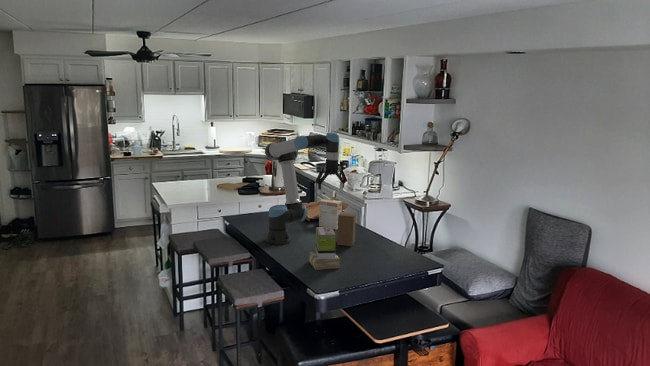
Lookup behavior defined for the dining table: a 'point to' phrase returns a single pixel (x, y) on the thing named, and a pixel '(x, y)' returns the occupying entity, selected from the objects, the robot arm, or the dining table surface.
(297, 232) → the dining table surface
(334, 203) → the coffeecake box
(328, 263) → the birch plinth
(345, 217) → the wooden block
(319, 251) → the tea box
